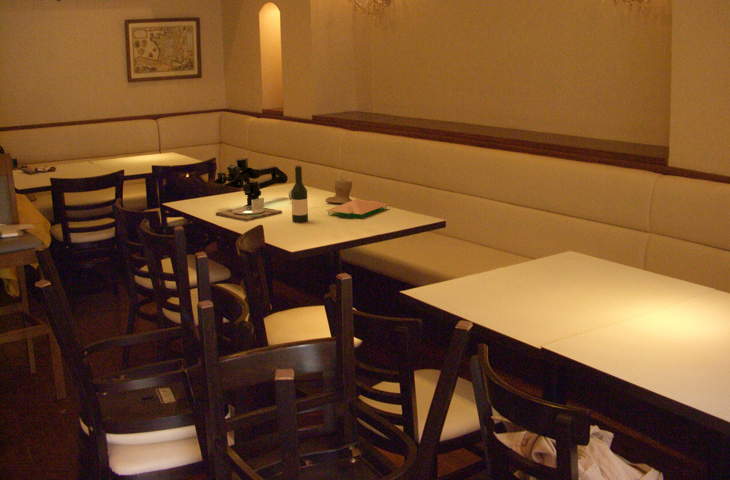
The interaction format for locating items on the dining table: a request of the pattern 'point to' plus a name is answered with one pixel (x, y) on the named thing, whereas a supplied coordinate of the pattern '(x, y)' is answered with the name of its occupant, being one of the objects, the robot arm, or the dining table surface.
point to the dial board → (248, 217)
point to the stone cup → (341, 191)
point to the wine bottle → (299, 199)
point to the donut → (290, 194)
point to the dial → (251, 208)
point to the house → (357, 208)
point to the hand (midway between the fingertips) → (219, 183)
